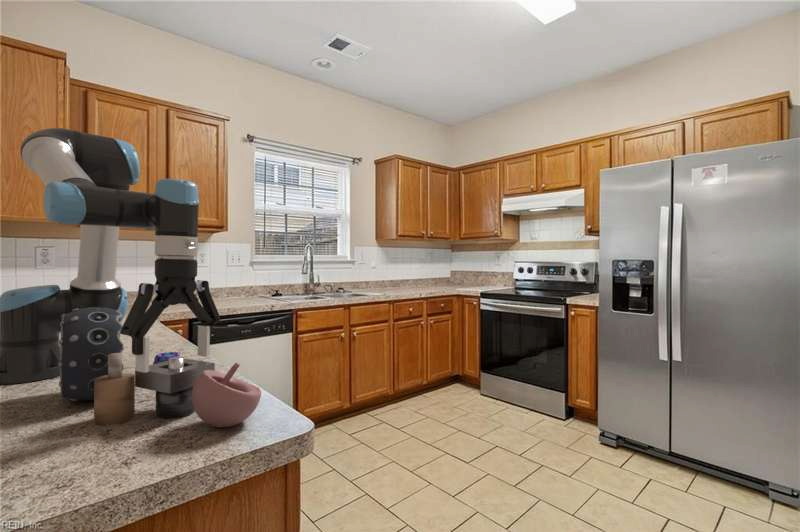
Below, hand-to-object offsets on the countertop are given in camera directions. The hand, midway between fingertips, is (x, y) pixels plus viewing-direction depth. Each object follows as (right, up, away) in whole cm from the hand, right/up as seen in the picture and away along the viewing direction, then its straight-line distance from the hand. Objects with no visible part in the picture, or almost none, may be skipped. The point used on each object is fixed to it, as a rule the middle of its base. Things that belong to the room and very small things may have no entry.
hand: (175, 363), depth 82 cm
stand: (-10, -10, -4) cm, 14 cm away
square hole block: (0, -4, 0) cm, 4 cm away
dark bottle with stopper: (0, -10, 0) cm, 10 cm away
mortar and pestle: (+13, -10, -6) cm, 18 cm away
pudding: (-18, -10, +30) cm, 36 cm away
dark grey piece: (-23, -10, +8) cm, 26 cm away
